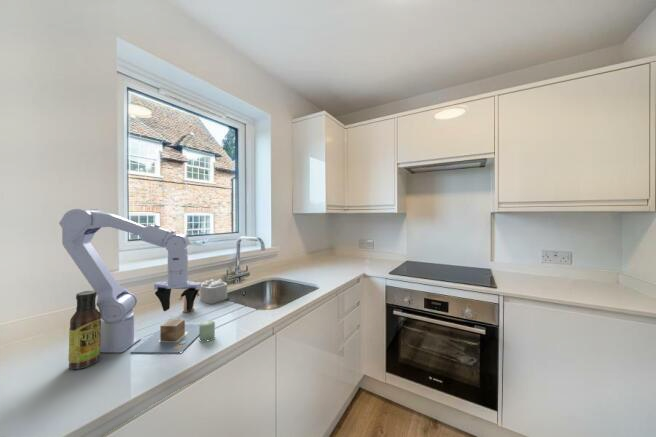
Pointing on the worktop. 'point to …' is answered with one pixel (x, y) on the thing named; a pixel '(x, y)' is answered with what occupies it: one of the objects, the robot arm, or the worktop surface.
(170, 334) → the walnut block
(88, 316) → the sauce bottle
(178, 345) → the board
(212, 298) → the lumpy-topped squat cylinder
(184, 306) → the grandmother figurine
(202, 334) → the sage drum
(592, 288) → the worktop surface
